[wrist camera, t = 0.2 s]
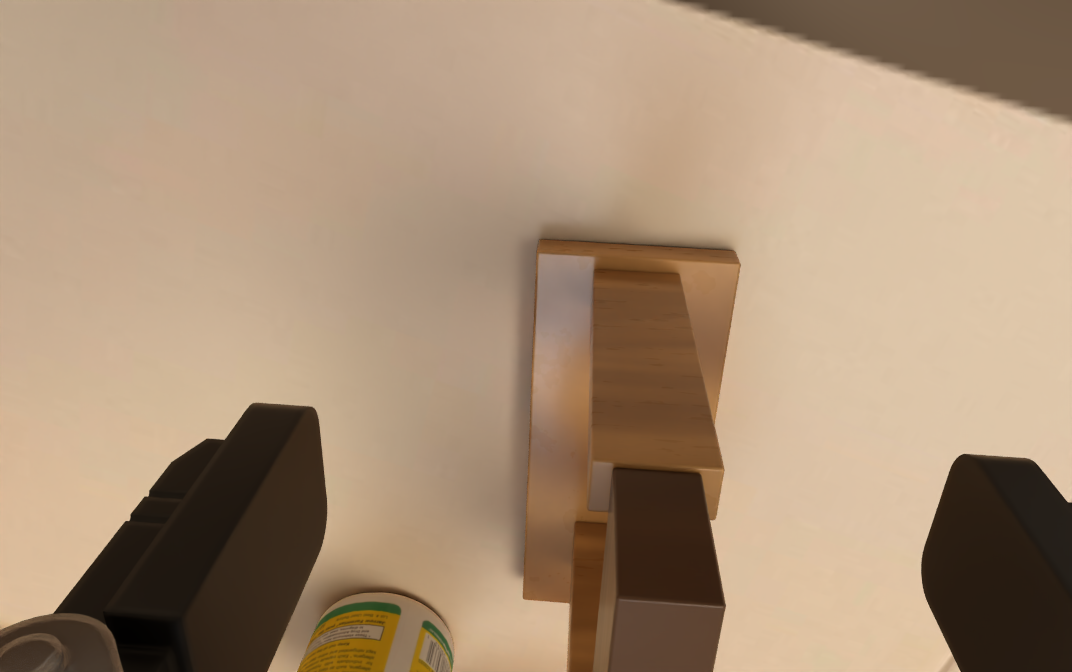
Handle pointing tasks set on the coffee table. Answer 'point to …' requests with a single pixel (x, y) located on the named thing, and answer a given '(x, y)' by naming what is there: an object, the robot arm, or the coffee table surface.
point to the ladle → (658, 576)
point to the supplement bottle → (379, 637)
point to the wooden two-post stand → (616, 400)
